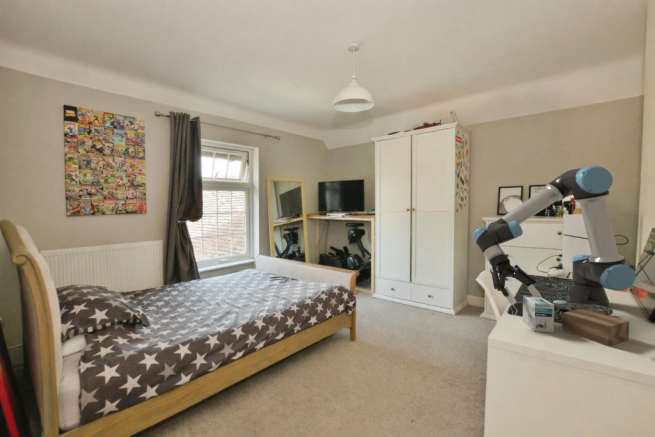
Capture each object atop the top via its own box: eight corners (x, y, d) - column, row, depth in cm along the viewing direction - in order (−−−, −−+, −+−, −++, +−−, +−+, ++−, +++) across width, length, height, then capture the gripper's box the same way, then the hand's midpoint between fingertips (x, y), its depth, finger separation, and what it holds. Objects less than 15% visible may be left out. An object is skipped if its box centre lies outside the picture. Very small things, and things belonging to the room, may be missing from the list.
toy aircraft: (556, 304, 142) (556, 293, 141) (614, 315, 127) (615, 303, 127) (547, 313, 131) (548, 301, 131) (610, 326, 116) (610, 313, 116)
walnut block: (582, 326, 117) (582, 308, 117) (628, 340, 104) (629, 321, 104) (562, 331, 113) (562, 312, 112) (608, 347, 100) (608, 326, 99)
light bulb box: (554, 333, 110) (555, 304, 110) (534, 331, 112) (534, 303, 111) (540, 322, 121) (540, 295, 120) (521, 321, 122) (522, 295, 122)
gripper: (513, 261, 139) (544, 303, 125) (469, 264, 132) (496, 309, 118) (524, 251, 134) (557, 294, 120) (478, 254, 127) (508, 300, 113)
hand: (527, 301), depth 119 cm, fingers open, 13 cm apart
